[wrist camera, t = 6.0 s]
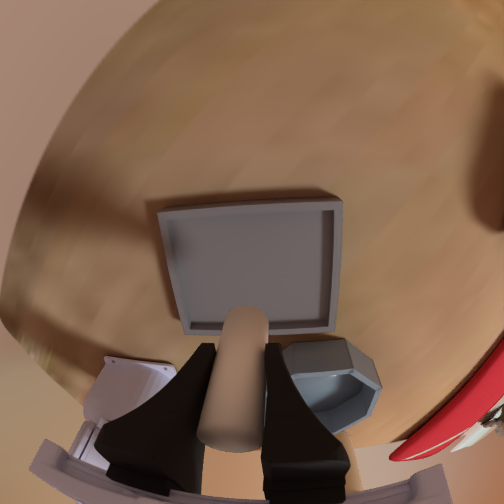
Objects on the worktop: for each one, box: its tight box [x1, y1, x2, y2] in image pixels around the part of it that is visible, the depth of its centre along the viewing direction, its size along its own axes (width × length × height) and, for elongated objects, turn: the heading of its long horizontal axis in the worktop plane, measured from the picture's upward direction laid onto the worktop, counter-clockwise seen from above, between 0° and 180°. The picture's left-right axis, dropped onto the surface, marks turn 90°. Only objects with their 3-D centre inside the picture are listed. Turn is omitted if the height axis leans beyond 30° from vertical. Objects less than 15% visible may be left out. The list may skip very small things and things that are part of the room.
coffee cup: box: [334, 431, 363, 494], centre depth 27 cm, size 9×9×12 cm
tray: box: [157, 197, 343, 336], centre depth 21 cm, size 13×11×2 cm
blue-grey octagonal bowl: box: [264, 339, 382, 435], centre depth 25 cm, size 12×12×4 cm
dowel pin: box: [196, 306, 269, 453], centre depth 12 cm, size 2×2×8 cm
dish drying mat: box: [389, 338, 504, 461], centre depth 26 cm, size 16×41×4 cm, turn 158°
